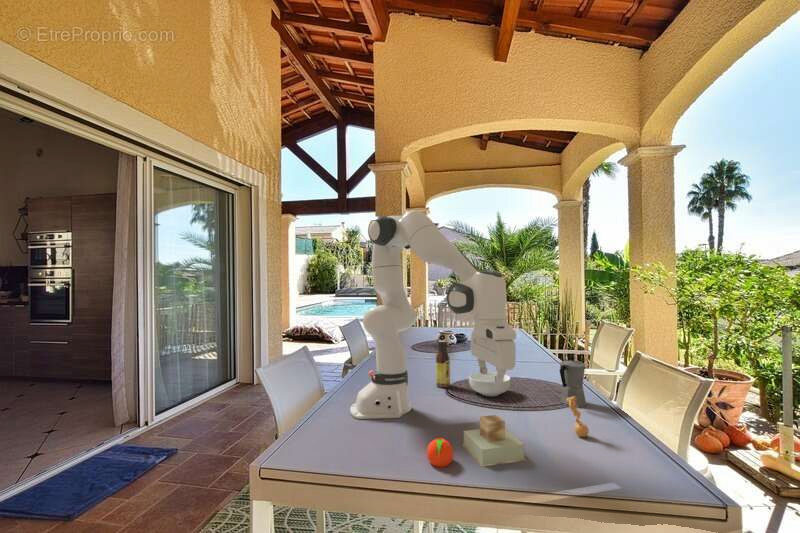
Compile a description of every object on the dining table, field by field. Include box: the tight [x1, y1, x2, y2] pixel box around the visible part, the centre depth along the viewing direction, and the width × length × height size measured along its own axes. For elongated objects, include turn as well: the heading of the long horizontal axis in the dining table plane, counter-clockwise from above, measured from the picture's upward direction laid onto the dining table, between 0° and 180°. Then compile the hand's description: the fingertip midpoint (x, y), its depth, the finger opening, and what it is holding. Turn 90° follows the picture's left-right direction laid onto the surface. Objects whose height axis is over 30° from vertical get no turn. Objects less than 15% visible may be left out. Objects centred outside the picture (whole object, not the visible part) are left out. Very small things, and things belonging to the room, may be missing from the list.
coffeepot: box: [559, 355, 587, 408], centre depth 147 cm, size 15×9×18 cm, turn 129°
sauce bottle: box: [435, 340, 451, 389], centre depth 172 cm, size 7×6×20 cm
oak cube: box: [479, 414, 506, 442], centre depth 107 cm, size 5×5×5 cm
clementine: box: [426, 437, 454, 468], centre depth 101 cm, size 8×7×7 cm
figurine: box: [567, 396, 590, 438], centre depth 119 cm, size 8×6×12 cm
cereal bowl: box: [468, 371, 511, 397], centre depth 161 cm, size 17×17×7 cm
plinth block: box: [463, 428, 525, 465], centre depth 106 cm, size 12×12×4 cm
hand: (491, 378), depth 107 cm, fingers open, 8 cm apart
